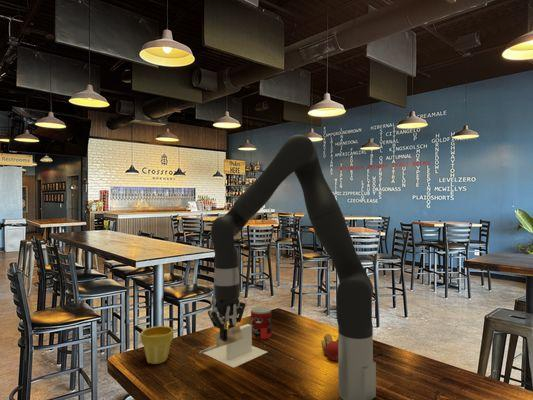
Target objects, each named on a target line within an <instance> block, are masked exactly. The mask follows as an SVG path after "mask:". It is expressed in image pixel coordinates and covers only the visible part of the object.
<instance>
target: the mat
mask: <svg viewBox="0 0 533 400" xmlns="http://www.w3.org/2000/svg"><path fill="white" fill-rule="evenodd" d="M216 345H217V344H216ZM216 345H213V346H216ZM213 346H210V347H208V348H211V347H213ZM208 348H206V349H208ZM203 350H204V349H203ZM203 350H201V351H203ZM203 354H204V355H206V356H208V357H210V358H213V359H214V360H217V361H219V362H220V363H222V364H224V365H227V366H229V367H231V368H237V367H238V366H241V365H243V364H245V363H247V362H249V361H252V360H254V359H255V358H258V357H260V356H263V355H264V354H268V351H267V350H263V349H261V348H259V347H256V346H254V345H252V351H250V352H247V353H245V354H243V355H240V356H238V357H236V358H233V359H231V360H230V359H228V358H226V345H224V346H221V347H218V348H215V349H213V350H210V351H207V352H204V353H203Z"/></svg>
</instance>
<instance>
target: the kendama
mask: <svg viewBox="0 0 533 400" xmlns="http://www.w3.org/2000/svg"><path fill="white" fill-rule="evenodd" d="M320 342H321V348H322V352H323V355H324V356H325V355H326V356H327V357H328V358H329V359H330V360H332V361H338V338H337V339H336V340H333V337H332V335H331V334H330V333H326V334H325V335H324V337H323V339H322V340H321V341H320Z"/></svg>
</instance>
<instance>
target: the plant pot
mask: <svg viewBox="0 0 533 400" xmlns="http://www.w3.org/2000/svg"><path fill="white" fill-rule="evenodd" d="M173 341H174V329H173V327H170V326H165V325H159V326H158V325H157V326H151V327H148V328H145V329H143V330H142V331H141V332H140V343H141V345H143V349H144V355H145V358H146V362H147V363H148V364H150V363H151V364H150V365H159V364H162V363H165V362H166V361H167V360H168V357H169V353H170V348H171V343H172V342H173Z"/></svg>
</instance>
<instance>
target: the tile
mask: <svg viewBox="0 0 533 400" xmlns="http://www.w3.org/2000/svg"><path fill="white" fill-rule="evenodd" d="M239 326H240V329H241V333H242V336H243V339H241V340H239V341H236V342H233V343H230V344H227V345H226V358H228V359H230V360H231V359H233V358H236V357H238V356H240V355H243V354H245V353H247V352H250V351H252V346H253V344H252V343H253V338H252V325H251V323H250V324H249V323H246V324H244V325H239Z"/></svg>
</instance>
